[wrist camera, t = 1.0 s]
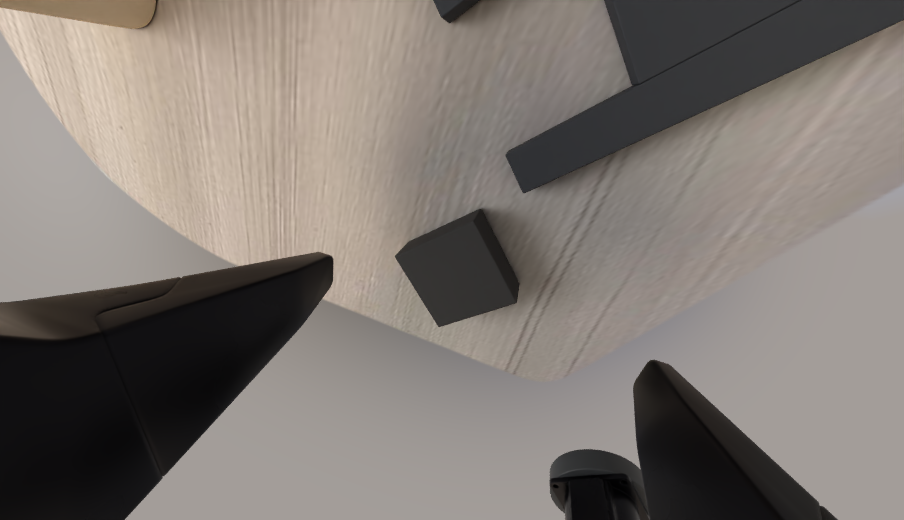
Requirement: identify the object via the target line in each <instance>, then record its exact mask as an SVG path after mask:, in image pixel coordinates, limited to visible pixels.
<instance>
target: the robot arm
mask: <svg viewBox="0 0 904 520" xmlns="http://www.w3.org/2000/svg"><path fill="white" fill-rule="evenodd" d="M332 282H333V258H332V256H330V255H327V254H324V253H321V252H316V253H310V254H305V255H299V256H293V257H288V258H282V259H277V260H271V261H266V262H260V263H255V264H249V265H244V266H238V267H233V268H228V269H222V270H217V271H211V272H205V273H199V274H194V275H189V276H183V277H182V278H180V277H177V278H171V279H166V280H161V281H154V282H149V283H143V284H137V285H130V286H124V287H117V288H110V289H103V290H96V291H88V292H81V293H74V294H67V295H60V296H52V297H45V298H37V299H30V300H23V301H14V302H3V303H2V302H1V303H0V520H125V518H126V517H127V516H128V515H129V514H130V513H131V512H132V511H133V510H134V509H135V508H136V507H137V506H138V504H139V503H140V502H141V501H142V500H143V499H144V498H145V497H146V496H147V495H148V494H149V492H150V491H151V490H152V489H153V488H154V487H155V486H156V485H157V484H158V483H159V482H160V480H161V479H162V476H164V475H166V474H167V473H168V471H169V470H170V469H171V468H172V467H173V466H174V465H175V464H176V463H177V462H178V460H179V459H180V458H181V457H182V456H183V455H184V454H185V453H186V452H187V451H188V450H189V448H190V447H191V446H192V445H193V444H194V443H195V442H196V441H197V440H198V439H199V438H200V437H201V435H202V434H203V433H204V432H205V431H206V430H207V429H208V428H209V427H210V426H211V425H212V423H213V422H214V421H215V420H216V419H217V418H218V417H219V416H220V415H221V414H222V413H223V411H224V410H225V409H226V408H227V407H228V406H229V405H230V404H231V403H232V402H233V401H234V399H235V398H236V397H237V396H238V395H239V394H240V393H241V392H242V391H243V390H244V389H245V387H246V386H247V385H248V384H249V383H250V382H251V381H252V380H253V379H254V378H255V377H256V375H257V374H258V373H259V372H260V371H261V370H262V369H263V368H264V367H265V365H267V363H268V362H269V361H270V360H271V359H272V358H273V357H274V356H275V355H276V354H277V352H279V350H280V349H281V348H282V347H283V346H284V345H285V344H286V343H287V341H289V339H290V338H291V337H292V336H293V335H294V334H295V333H296V332H297V330H299V328H300V327H301V326H302V325H303V324H304V322H305V321H306V320H307V318H308V317H309V316H310V314H311V313H312V312H313V310H314V309H315V308H316V306H317V305H318V303H319V302H320V301H321V299H322V298H323V297H324V295H325V294H326V293H327V291H328V290H329V288H330V287H331V285H332ZM633 393H634V411H635V427H636V441H637V449H638V456H639V461H640V468H641V473H642V479H643V484H644V490H645V496H646V501H647V507H648V513H649V515H648V513H647V511H646V509H645V507H644V505H643V503H642V501H641V499H640V497H639V495H638V493H637V491H636V489H635V487H634V485H633V483H632V481H631V479H630V477H629V476H628V475H627V474H624V473H616V474H601V475H587V476H572V477H557V478H551V479H550V487H551V489H552V491H553V492H554V494H555V495H556V497H557V499H558V500H559V502H560V504H561V505H562V507H563V509H564V510H565V520H837V519H836V518H835V517H834V516H833V515H832V514H831V513H830V512H829V511H828V510H827V509H825V508H824V507H823V506H819V502H818V501H817V500H816V499H815V498H813V497H812V496H811V495H810V494H809V493H808V492H807V491H806V490H805V489H804V488H803V487H802V486H801V485H799V484H798V483H797V482H796V481H795V480H794V479H793V478H792V477H791V476H789V474H787V473H786V472H785V471H784V470H783V469H782V468H781V467H780V466H779V465H778V464H777V463H776V462H774V461H773V460H772V459H771V458H770V457H769V456H768V455H767V454H766V453H765V452H764V451H763V450H761V449H760V448H759V447H758V446H757V445H756V444H755V443H754V442H753V441H752V440H751V439H750V438H748V437H747V436H746V435H745V434H744V433H743V432H742V431H741V430H740V429H739V428H738V427H736V426H735V425H734V424H733V423H732V422H731V421H730V420H729V419H728V418H727V417H726V416H724V414H722V413H721V412H720V411H719V410H718V409H717V408H716V407H715V406H714V405H713V404H711V403H710V402H709V401H708V400H707V399H706V398H705V397H704V396H703V395H702V394H701V393H700V392H699V391H698V390H696V389H695V388H694V387H693V386H692V385H691V384H690V383H689V382H687V380H686V379H685V378H683V377H682V376H681V375H680V374H679V373H678V372H677V371H676V370H675V369H674V368H673V367H672V366H670V365H669V364H666V363H663V362H660V361H657V360H650V361H649V362H648V363H647V364H646V366H645V367H644V369H643V370H642V372H641V373H640V375H639V376H638V378H637V379H636V381H635V383H634V387H633Z"/></svg>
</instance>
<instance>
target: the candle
mask: <svg viewBox="0 0 904 520" xmlns="http://www.w3.org/2000/svg"><path fill="white" fill-rule="evenodd" d="M155 5H156V0H0V7H1V8H7V9H13V10H19V11H25V12H31V13H37V14H43V15H49V16H55V17H61V18H67V19H73V20H79V21H85V22H91V23H97V24H103V25H109V26H115V27H122V28H130V29H136V28H142V27H144V26H146V25H147V24H148V23H149V22H150V20H151V19H152V17H153V15H154V11H155Z"/></svg>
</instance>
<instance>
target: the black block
mask: <svg viewBox="0 0 904 520" xmlns="http://www.w3.org/2000/svg"><path fill="white" fill-rule="evenodd" d="M395 258H396V259H397V261H398V263H399V264H400V266H401V267H402V269H403V271H404V272H405V274H406V275H407V277H408V279H409V280H410V282H411V283H412V285H413V287H414V288H415V290H416V291H417V293H418V295H419V296H420V298H421V300H422V301H423V303H424V304H425V306H426V308H427V309H428V311H429V312H430V314H431V316H432V317H433V319H434V320H435V322H436V324H437V325H438V327H441V326H444V325H447V324H451V323H454V322H457V321H460V320H463V319H467V318H470V317H473V316H476V315H479V314H483V313H486V312H489V311H492V310H495V309H499V308H502V307H505V306H508V305H512V304H515V303H517V297H518V291H519V282H518V280H517V278H516V276H515V274H514V272H513V270H512V268H511V266H510V264H509V262H508V260H507V258H506V256H505V254H504V252H503V250H502V248H501V246H500V244H499V243H498V241H497V239H496V237H495V235H494V233H493V231H492V229H491V227H490V225H489V223H488V221H487V219H486V217H485V215H484V213H483V211H482V210H481V209H479V210H476V211H474V212H472V213H470V214H468V215H466V216H464V217H461V218H459V219H457V220H455V221H453V222H451V223H448V224H446V225H444V226H442V227H440V228H438V229H435V230H433V231H431V232H429V233H427V234H425V235H423V236H420V237H418V238H416V239H414V240H412V241H410V242H408V243H407V244H406V245H405V246H404V247H403V248H402V249H401V250H400V251H399V252H398V253H397V255H396V256H395Z"/></svg>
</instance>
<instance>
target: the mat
mask: <svg viewBox="0 0 904 520" xmlns="http://www.w3.org/2000/svg"><path fill="white" fill-rule="evenodd" d="M433 1H434V3H435V5H436V7H437V9H438V11H439V14H440V16H441V17H442V18H443V19H444V20H446V21H447V22H448V23H451V22H452V21H453V20H455V19H456V18H457V17H459V16H460V15H461V14H463V13H464V12H465V11H466V10H468V9H469V8H470V7H472V6H473V5H474V4H476V3H477V2H478V1H480V0H433ZM604 1H605V4H606V7H607V10H608V13H609V16H610V19H611V22H612V25H613V28H614V31H615V34H616V37H617V40H618V43H619V47H620V50H621V53H622V56H623V59H624V62H625V65H626V68H627V71H628V74H629V77H630V80H631V83H632V85H633V86H631V87H629V88H627V89H625V90H623V91H622V92H620V93H618V94H616V95H614V96H612V97H610V98H608V99H606V100H604V101H603V102H601V103H599V104H597V105H595V106H593V107H591V108H589V109H587V110H585V111H583V112H582V113H580V114H578V115H576V116H574V117H572V118H570V119H568V120H566V121H564V122H563V123H561V124H559V125H557V126H555V127H553V128H551V129H549V130H547V131H545V132H544V133H542V134H540V135H538V136H536V137H534V138H532V139H530V140H528V141H526V142H524V143H523V144H521V145H519V146H517V147H515V148H513V149H511V150H509V151H508V152H507V154H506V158H507V160H508V162H509V164H510V166H511V168H512V171H513V173H514V175H515V177H516V179H517V181H518V183H519V186H520V188H521V190H522V192H523V193H526V192H528V191H530V190H533V189H535V188H537V187H539V186H541V185H544V184H546V183H548V182H550V181H552V180H555V179H557V178H559V177H561V176H563V175H565V174H568V173H570V172H572V171H574V170H576V169H579V168H581V167H583V166H585V165H587V164H590V163H592V162H594V161H596V160H598V159H601V158H603V157H605V156H607V155H609V154H611V153H614V152H616V151H618V150H620V149H622V148H625V147H627V146H629V145H631V144H633V143H636V142H638V141H640V140H642V139H644V138H646V137H649V136H651V135H653V134H655V133H657V132H660V131H662V130H664V129H666V128H668V127H671V126H673V125H675V124H677V123H679V122H682V121H684V120H686V119H688V118H690V117H692V116H695V115H697V114H699V113H701V112H703V111H706V110H708V109H710V108H712V107H714V106H717V105H719V104H721V103H723V102H725V101H728V100H730V99H732V98H734V97H736V96H738V95H741V94H743V93H745V92H747V91H749V90H752V89H754V88H756V87H758V86H760V85H763V84H765V83H767V82H769V81H771V80H773V79H776V78H778V77H780V76H782V75H784V74H787V73H789V72H791V71H793V70H795V69H798V68H800V67H802V66H804V65H806V64H809V63H811V62H813V61H815V60H817V59H819V58H822V57H824V56H826V55H828V54H830V53H833V52H835V51H837V50H839V49H841V48H844V47H846V46H848V45H850V44H852V43H855V42H857V41H859V40H861V39H863V38H865V37H868V36H870V35H872V34H874V33H876V32H879V31H881V30H883V29H885V28H887V27H890V26H892V25H894V24H896V23H898V22H900V21H903V20H904V0H604Z"/></svg>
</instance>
